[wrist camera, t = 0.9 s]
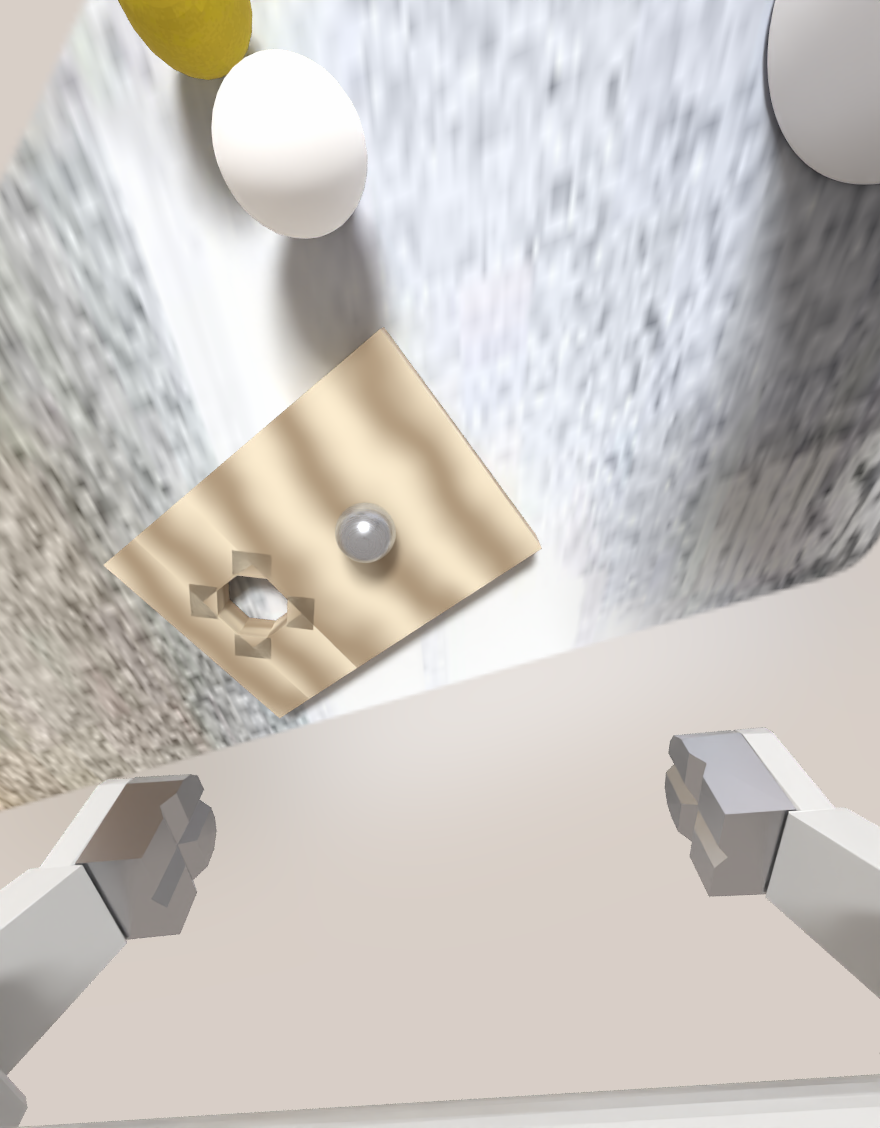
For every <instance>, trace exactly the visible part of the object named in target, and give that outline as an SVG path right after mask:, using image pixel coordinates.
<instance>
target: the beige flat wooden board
mask: <svg viewBox="0 0 880 1128" xmlns="http://www.w3.org/2000/svg"><path fill="white" fill-rule="evenodd" d="M365 502H366V503H373V504H376V505H378V506H380V507H382V508H383V509H385V510H386V511H387V512H388V513H389V514H390V516H391V517H392V519H393V521H394V524H395V528H396V538H395V542H394V545H393V547H392V549H391V550H390V551H389V553H388V554H387V555H386V556H384V557H383V558H381V559H380V560H378V561H375V562H371V563H361V562H357V561H354V560H352V559H350V558H348V557H347V556H346V555H345V554H343V552H342V551H341V550H340V548H339V547H338V544H337V542H336V538H335V527H336V523H337V520H338V518H339V517H340V515H341V514H342V513H343V511H345V510H346V509H347V508H348V507H350V506H352V505H354V504H357V503H365ZM540 549H542V548H541V546H540V543H539V541H538V539H537V536H536V534H535V533H534V532H533V530H532V529H531V527H530V526H529V525H528V523H527V522H526V521H525V519H524V518H523V517H522V515H521V514H520V512H519V511H518V510H517V508H516V507H515V506H514V504H513V503H512V501H511V500H510V499H509V497H508V496H507V495H506V493H505V492H504V491H503V489H502V488H501V486H500V485H499V484H498V482H497V481H496V480H495V478H494V477H493V476H492V474H491V473H490V471H489V470H488V469H487V467H486V466H485V465H484V463H483V462H482V460H481V459H480V458H479V456H478V455H477V454H476V452H475V451H474V450H473V448H472V447H471V445H470V444H469V443H468V441H467V440H466V439H465V437H464V436H463V435H462V433H461V432H460V430H459V429H458V428H457V426H456V425H455V424H454V422H453V421H452V419H451V418H450V417H449V415H448V414H447V413H446V411H445V410H444V409H443V407H442V406H441V404H440V403H439V402H438V400H437V399H436V398H435V396H434V395H433V393H432V392H431V391H430V389H429V388H428V387H427V385H426V384H425V383H424V381H423V380H422V378H421V377H420V376H419V374H418V373H417V372H416V370H415V369H414V368H413V366H412V365H411V363H410V362H409V361H408V359H407V358H406V357H405V355H404V354H403V352H402V351H401V350H400V348H399V347H398V346H397V344H396V343H395V342H394V340H393V339H392V337H391V336H390V335H389V333H388V332H387V331H386V329H385V328H384V327H383V328H381V329H379V330H378V331H377V332H376V333H375V334H374V335H372V336H371V337H370V338H369V339H368V340H366V341H365V342H364V343H363V344H362V345H361V346H359V347H358V348H357V349H356V350H355V351H354V352H352V353H351V354H350V355H349V356H348V357H347V358H345V359H344V360H343V361H342V362H341V363H340V364H338V365H337V366H336V367H335V368H334V369H333V370H331V371H330V372H329V373H328V374H327V375H326V376H324V377H323V378H322V379H321V380H320V381H318V382H317V383H316V384H315V385H314V386H313V387H311V388H310V389H309V390H308V391H307V392H306V393H304V394H303V395H302V396H301V397H300V398H299V399H297V400H296V401H295V402H294V403H293V404H292V405H290V406H289V407H288V408H287V409H286V410H285V411H283V412H282V413H281V414H280V415H279V416H278V417H276V418H275V419H274V420H273V421H272V422H270V423H269V424H268V425H267V426H266V427H265V428H263V429H262V430H261V431H260V432H259V433H258V434H256V435H255V436H254V437H253V438H252V439H251V440H249V441H248V442H247V443H246V444H245V445H244V446H242V447H241V448H240V449H239V450H238V451H237V452H235V453H234V454H233V455H232V456H231V457H230V458H228V459H227V460H226V461H225V462H224V463H222V464H221V465H220V466H219V467H218V468H217V469H215V470H214V471H213V472H212V473H211V474H210V475H208V476H207V477H206V478H205V479H204V480H203V481H201V482H200V483H199V484H198V485H197V486H196V487H194V488H193V489H192V490H191V491H190V492H189V493H187V494H186V495H185V496H184V497H183V498H182V499H180V500H179V501H178V502H177V503H176V504H174V505H173V506H172V507H171V508H170V509H169V510H167V511H166V512H165V513H164V514H163V515H162V516H160V517H159V518H158V519H157V520H156V521H155V522H153V523H152V524H151V525H150V526H149V527H148V528H146V529H145V530H144V531H143V532H142V533H141V534H139V535H138V536H137V537H136V538H135V539H134V540H132V541H131V542H130V543H129V544H128V545H126V546H125V547H124V548H123V549H122V550H121V551H119V552H118V553H117V554H116V555H115V556H114V557H112V558H111V559H110V560H109V561H108V562H107V563H105V564H104V566H105V567H106V568H107V569H108V570H110V571H111V572H112V573H113V574H114V575H115V576H116V577H118V578H119V579H120V580H121V581H122V582H123V583H125V584H126V585H127V586H128V587H129V588H130V589H131V590H133V591H134V592H135V593H136V594H137V595H138V596H140V597H141V598H142V599H143V600H144V601H145V602H146V603H148V604H149V605H150V606H151V607H152V608H153V609H155V610H156V611H157V612H158V613H159V614H160V615H161V616H163V617H164V618H165V619H166V620H167V621H168V622H169V623H171V624H172V625H173V626H174V627H175V628H176V629H178V630H179V631H180V632H181V633H182V634H183V635H184V636H186V637H187V638H188V639H189V640H190V641H191V642H193V643H194V644H195V645H196V646H197V647H198V648H199V649H201V650H202V651H203V652H204V653H205V654H206V655H207V656H209V657H210V658H211V659H212V660H213V661H214V662H216V663H217V664H218V665H219V666H220V667H221V668H222V669H224V670H225V671H226V672H227V673H228V674H229V675H231V676H232V677H233V678H234V679H235V680H236V681H237V682H239V683H240V684H241V685H242V686H243V687H244V688H246V689H247V690H248V691H249V692H250V693H251V694H252V695H254V696H255V697H256V698H257V699H258V700H259V701H260V702H262V703H263V704H264V705H265V706H266V707H267V708H269V709H270V710H271V711H272V712H273V713H274V714H275V715H277V716H278V717H279V718H281V717H282V716H284V715H285V714H287V713H288V712H290V711H292V710H293V709H295V708H296V707H298V706H299V705H301V704H302V703H304V702H305V701H307V700H308V699H310V698H312V697H313V696H315V695H316V694H318V693H319V692H321V691H322V690H324V689H325V688H327V687H329V686H330V685H332V684H333V683H335V682H336V681H338V680H339V679H341V678H342V677H344V676H346V675H347V674H349V673H350V672H352V671H353V670H355V669H356V668H358V667H359V666H361V665H363V664H364V663H366V662H367V661H369V660H370V659H372V658H373V657H375V656H376V655H378V654H380V653H381V652H383V651H384V650H386V649H387V648H389V647H390V646H392V645H393V644H395V643H397V642H398V641H400V640H401V639H403V638H404V637H406V636H407V635H409V634H410V633H412V632H414V631H415V630H417V629H418V628H420V627H421V626H423V625H424V624H426V623H427V622H429V621H431V620H432V619H434V618H435V617H437V616H438V615H440V614H441V613H443V612H444V611H446V610H448V609H449V608H451V607H452V606H454V605H455V604H457V603H458V602H460V601H461V600H463V599H465V598H466V597H468V596H469V595H471V594H472V593H474V592H475V591H477V590H478V589H480V588H482V587H483V586H485V585H486V584H488V583H489V582H491V581H492V580H494V579H495V578H497V577H499V576H500V575H502V574H503V573H505V572H506V571H508V570H509V569H511V568H512V567H514V566H516V565H517V564H519V563H520V562H522V561H523V560H525V559H526V558H528V557H529V556H531V555H533V554H534V553H536V552H537V551H539V550H540ZM237 575H238V576H246V577H255V578H263V579H267V580H268V581H269V582H270V583H271V584H272V585H273V586H274V587H275V588H276V589H277V590H278V591H279V592H281V593H282V594H283V595H284V596H285V597H286V598H287V599H288V604H287V613H286V614H284V615H283V616H282V617H280V618H279V619H277V620H276V621H274V620H265V619H257V618H249V617H248V616H247V615H246V614H245V613H244V612H243V611H242V610H240V609H239V608H238V607H237V606H236V605H235V604H234V603H233V602H232V601H231V600H230V599H229V581H230V580H232V579H233V578H234V577H236V576H237Z"/></svg>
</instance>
